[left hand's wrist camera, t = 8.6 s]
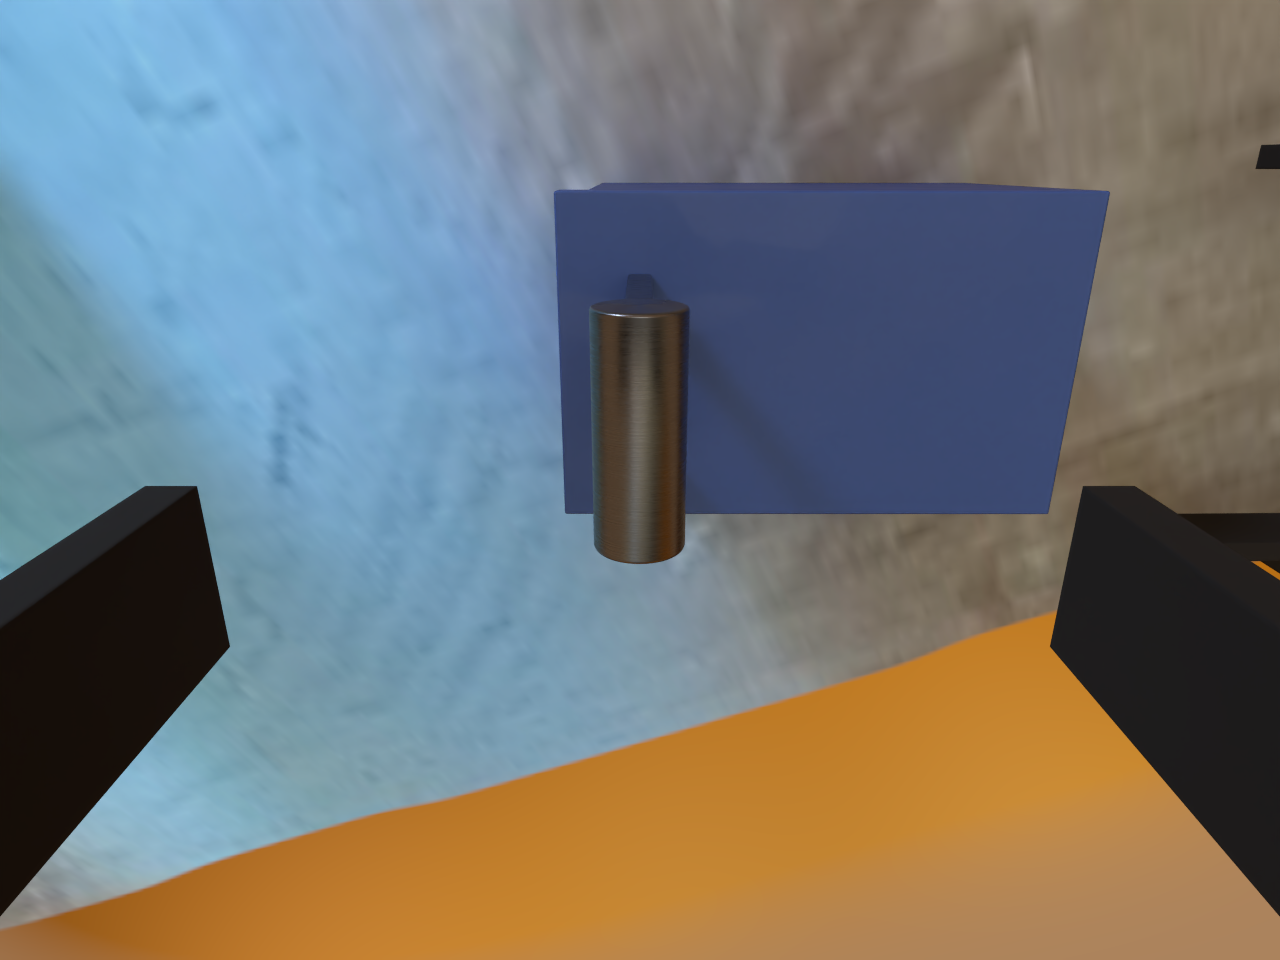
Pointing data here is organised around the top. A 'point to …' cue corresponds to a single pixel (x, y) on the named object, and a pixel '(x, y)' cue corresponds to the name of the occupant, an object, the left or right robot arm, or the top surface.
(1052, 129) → the top surface
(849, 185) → the chest
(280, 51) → the top surface
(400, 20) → the top surface
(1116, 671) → the left robot arm
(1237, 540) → the right robot arm
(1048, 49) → the top surface
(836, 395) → the lid
